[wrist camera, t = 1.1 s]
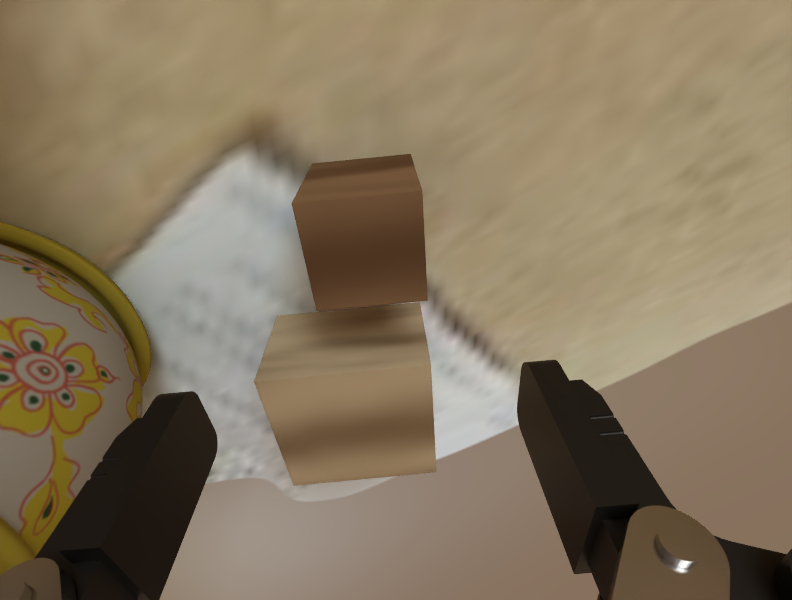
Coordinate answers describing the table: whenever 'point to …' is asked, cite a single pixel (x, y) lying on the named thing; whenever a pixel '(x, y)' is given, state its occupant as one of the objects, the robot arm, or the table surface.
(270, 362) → the oak box
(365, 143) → the table surface
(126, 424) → the flowerpot
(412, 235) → the walnut block
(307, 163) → the table surface
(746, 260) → the table surface
